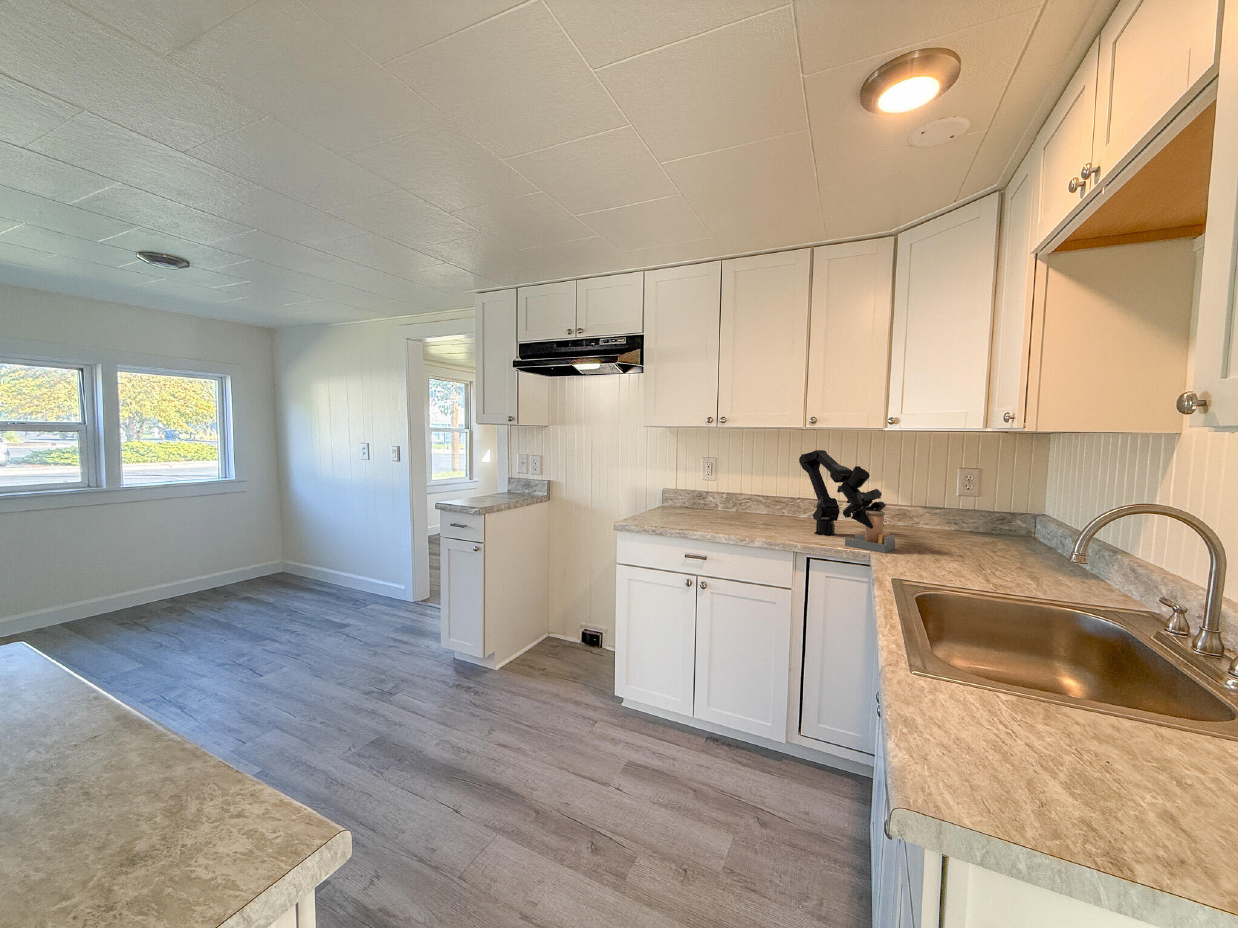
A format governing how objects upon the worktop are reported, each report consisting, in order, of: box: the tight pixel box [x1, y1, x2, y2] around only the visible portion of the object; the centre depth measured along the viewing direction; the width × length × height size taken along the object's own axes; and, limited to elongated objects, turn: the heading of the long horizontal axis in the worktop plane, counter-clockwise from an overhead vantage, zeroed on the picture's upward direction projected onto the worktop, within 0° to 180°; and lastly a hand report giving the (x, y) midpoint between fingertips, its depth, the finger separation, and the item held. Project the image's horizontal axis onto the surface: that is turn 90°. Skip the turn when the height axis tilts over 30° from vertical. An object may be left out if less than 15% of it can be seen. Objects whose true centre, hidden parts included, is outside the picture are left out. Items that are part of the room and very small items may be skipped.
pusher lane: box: [844, 534, 896, 554], centre depth 188 cm, size 15×10×6 cm
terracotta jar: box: [864, 510, 886, 543], centre depth 186 cm, size 6×6×13 cm
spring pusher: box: [878, 531, 891, 544], centre depth 184 cm, size 1×8×6 cm, turn 133°
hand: (877, 527), depth 185 cm, fingers closed on terracotta jar, 6 cm apart
